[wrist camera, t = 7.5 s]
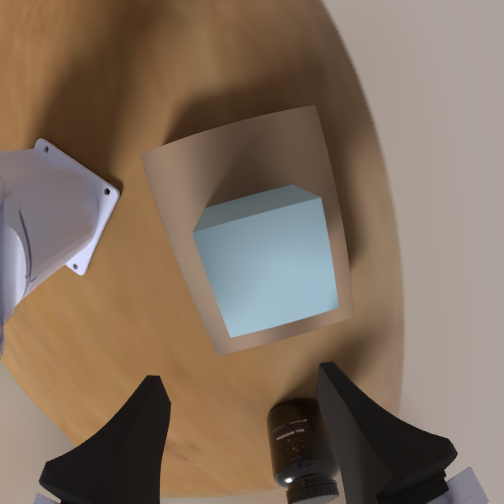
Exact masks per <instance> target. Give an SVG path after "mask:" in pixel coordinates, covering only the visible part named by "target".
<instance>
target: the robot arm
mask: <svg viewBox="0 0 504 504" xmlns="http://www.w3.org/2000/svg"><path fill="white" fill-rule="evenodd" d="M47 147H48V148H49V150H48V152H47ZM107 188H108V189H109V190H110V194H107V193H106V189H107ZM119 197H120V192H119V190H118V189H117V188H115V187H114V186H112V185H111V184H109V183H108V182H106V181H105V180H103V179H102V178H100V177H99V176H97V175H96V174H94V173H93V172H92V171H90V170H89V169H87V168H86V167H84V166H83V165H81V164H80V163H78V162H77V161H75V160H74V159H72V158H71V157H70V156H68V155H67V154H65V153H64V152H62V151H61V150H59V149H58V148H57V147H55V146H54V145H52V144H51V143H49V142H48V141H47V140H45V139H43V138H40V139H38V140H37V142H36V144H35V147H34V149H23V150H11V151H1V152H0V359H1V356H2V354H3V350H4V344H5V336H4V329H3V325H4V324H5V323H6V322H7V321H8V320H9V319H10V318H11V317H12V316H13V315H14V308H15V306H16V305H17V304H18V303H19V302H20V301H21V300H22V299H23V298H24V297H26V296H27V295H28V294H29V293H30V292H31V291H32V290H34V289H35V288H36V287H37V286H38V285H40V284H41V283H42V282H43V281H44V280H46V279H47V278H48V277H49V276H50V275H52V274H53V273H54V272H55V271H57V270H58V269H59V268H60V267H62V266H63V265H64V264H65V265H67V266H68V267H69V268H71V269H72V270H73V271H75V272H76V273H77V274H79V275H84V274H85V273H86V271H87V268H88V266H89V263H90V261H91V258H92V256H93V253H94V251H95V248H96V246H97V244H98V242H99V239H100V237H101V235H102V232H103V230H104V228H105V226H106V224H107V222H108V220H109V217H110V215H111V213H112V211H113V209H114V207H115V205H116V203H117V201H118V199H119ZM75 264H77V266H78V268H77V267H76V266H75ZM316 394H317V398H318V402H319V407H320V411H321V414H322V416H323V419H324V422H325V424H326V427H327V430H328V432H329V435H330V438H331V440H332V443H333V445H334V448H335V451H336V455H337V459H338V463H339V467H340V472H341V476H342V481H343V486H344V492H345V498H346V503H347V504H487V503H488V502H489V500H488V498H487V496H486V494H485V492H484V490H483V488H482V486H481V484H480V483H479V481H478V479H477V477H476V475H475V474H474V472H473V470H472V468H471V467H468V468H467V469H466V470H464V471H462V472H461V473H459V474H457V475H456V476H454V477H453V478H451V479H450V480H448V481H447V482H445V480H444V478H445V477H446V473H445V471H444V470H445V469H446V468H447V467H448V466H449V465H450V463H452V462H453V461H454V459H455V458H456V456H457V454H458V453H457V451H456V449H455V448H454V446H453V444H452V443H451V441H450V440H449V439H448V438H444V437H441V436H438V435H434V434H431V433H428V432H426V431H423V430H420V429H418V428H416V427H414V426H412V425H410V424H407V423H406V422H404V421H402V420H400V419H399V418H397V417H395V416H394V415H392V414H391V413H389V412H388V411H386V410H385V409H383V408H382V407H380V406H379V405H378V404H377V403H375V402H374V401H373V400H372V399H370V398H369V397H368V396H367V395H366V394H365V393H363V392H362V391H361V390H360V389H359V388H358V387H357V386H356V385H355V384H354V383H353V382H352V381H351V380H350V379H349V378H348V377H347V376H346V375H345V374H344V373H343V372H342V371H341V370H340V368H339V367H338V366H337V365H336V364H335V363H334V362H333V361H332V362H327V363H321V364H320V365H319V374H318V383H317V391H316ZM170 410H171V402H170V400H169V398H168V395H167V393H166V390H165V388H164V386H163V383H162V381H161V378H160V376H151V375H147V376H146V378H145V379H144V380H143V381H142V383H141V384H140V385H139V387H138V388H137V389H136V390H135V392H134V393H133V394H132V396H131V397H130V398H129V399H128V400H127V402H126V403H125V404H124V405H123V406H122V408H121V409H120V410H119V411H118V412H117V413H116V414H115V415H114V416H113V418H112V419H111V420H110V421H109V422H108V423H107V424H106V425H105V426H104V427H102V428H101V429H100V430H99V431H98V432H97V433H96V434H94V435H93V436H92V437H90V438H89V439H88V440H86V441H85V442H84V443H82V444H81V445H79V446H78V447H76V448H74V449H73V450H71V451H69V452H67V453H66V454H64V455H62V456H59V457H57V458H55V459H53V460H50V461H48V462H46V464H45V467H44V469H43V471H42V474H41V477H40V479H39V483H40V485H41V486H43V487H44V488H45V489H46V490H48V491H49V492H50V493H52V494H53V495H55V496H56V497H57V498H59V499H60V500H61V503H60V504H160V470H161V461H162V456H163V451H164V446H165V441H166V437H167V432H168V427H169V422H170ZM33 504H59V503H57V502H55V501H53V500H51V499H49V498H47V497H45V496H43V495H41V494H39V493H37V494H36V497H35V500H34V503H33Z"/></svg>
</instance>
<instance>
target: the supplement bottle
mask: <svg viewBox="0 0 504 504" xmlns="http://www.w3.org/2000/svg"><path fill="white" fill-rule="evenodd" d="M267 430H268V438H269V446H270V454H271V462H272V470H273V477H274V480H275V482H276V483H277V484H278V485H279V486H281V487H283V488H286V489H288V490H287V491H286V497H287V500H288V504H326V503H329V502H331V501H334V500H335V499H337V498H338V497H339V492H338V488H337V482H336V480H333V478H334V477H335V476H336V475H337V474H338V473H339V471H340V467H339V463H338V459H337V455H336V451H335V448H334V445H333V443H332V440H331V438H330V435H329V432H328V430H327V427H326V424H325V422H324V419H323V416H322V414H321V411H320V407H319V403H318V402H317V401H314V400H309V399H297V400H292V401H288V402H285V403H283V404H281V405H279V406H277V407H276V408H274V409H273V410H272V411H271V412H270V414H269V415H268V418H267Z"/></svg>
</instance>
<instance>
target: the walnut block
mask: <svg viewBox="0 0 504 504" xmlns="http://www.w3.org/2000/svg"><path fill="white" fill-rule="evenodd" d="M140 155H141V159H142V162H143V165H144V169H145V172H146V175H147V178H148V181H149V184H150V187H151V190H152V194H153V197H154V199H155V202H156V205H157V208H158V211H159V214H160V217H161V220H162V223H163V225H164V228H165V231H166V234H167V236H168V239H169V242H170V244H171V247H172V250H173V252H174V255H175V257H176V260H177V263H178V265H179V268H180V270H181V273H182V275H183V278H184V280H185V282H186V285H187V287H188V290H189V292H190V295H191V297H192V299H193V302H194V304H195V306H196V309H197V311H198V313H199V315H200V318H201V320H202V322H203V324H204V327H205V329H206V331H207V333H208V335H209V338H210V340H211V342H212V344H213V346H214V348H215V350H216V352H217V355H223V354H227V353H231V352H236V351H240V350H244V349H248V348H252V347H256V346H260V345H264V344H267V343H271V342H275V341H278V340H282V339H285V338H289V337H292V336H296V335H299V334H303V333H306V332H309V331H312V330H315V329H319V328H322V327H325V326H328V325H331V324H334V323H337V322H340V321H343V320H346V319H348V318H351V317H354V316H355V314H354V303H353V293H352V284H351V276H350V268H349V260H348V253H347V246H346V240H345V234H344V228H343V222H342V216H341V211H340V205H339V200H338V195H337V190H336V185H335V181H334V176H333V171H332V167H331V163H330V158H329V154H328V150H327V146H326V142H325V138H324V134H323V130H322V127H321V123H320V119H319V116H318V112H317V109H316V106H315V105H311V106H305V107H299V108H294V109H289V110H284V111H279V112H275V113H270V114H266V115H261V116H257V117H253V118H249V119H245V120H241V121H238V122H234V123H230V124H227V125H223V126H220V127H216V128H213V129H210V130H207V131H203V132H200V133H197V134H194V135H191V136H188V137H185V138H182V139H179V140H177V141H174V142H171V143H168V144H166V145H163V146H160V147H158V148H155V149H153V150H150V151H148V152H145V153H143V154H140ZM292 184H293V185H295V186H298V187H300V188H302V189H304V190H306V191H308V192H310V193H313V194H315V195H317V196H319V197H321V200H322V205H323V210H324V215H325V221H326V226H327V232H328V237H329V243H330V249H331V255H332V262H333V268H334V275H335V282H336V290H337V297H338V305H339V308H336V309H333V310H330V311H327V312H323V313H320V314H317V315H314V316H310V317H307V318H304V319H300V320H297V321H293V322H290V323H286V324H283V325H279V326H275V327H272V328H268V329H264V330H260V331H256V332H253V333H249V334H245V335H240V336H236V337H232V338H230V335H229V333H228V330H227V328H226V325H225V322H224V320H223V317H222V315H221V312H220V309H219V307H218V304H217V302H216V299H215V296H214V294H213V291H212V288H211V286H210V283H209V280H208V277H207V275H206V272H205V269H204V266H203V263H202V261H201V258H200V255H199V252H198V249H197V246H196V243H195V240H194V238H193V235H192V232H193V230H194V228H195V226H196V224H197V222H198V220H199V218H200V216H201V214H202V212H203V211H204V209H205V208H207V207H211V206H214V205H218V204H221V203H224V202H228V201H231V200H235V199H239V198H242V197H246V196H249V195H253V194H257V193H261V192H264V191H268V190H272V189H276V188H280V187H284V186H288V185H292Z"/></svg>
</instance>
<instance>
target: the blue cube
mask: <svg viewBox="0 0 504 504" xmlns="http://www.w3.org/2000/svg"><path fill="white" fill-rule="evenodd" d="M192 235H193V238H194V240H195V243H196V246H197V249H198V252H199V255H200V258H201V261H202V263H203V266H204V269H205V272H206V275H207V277H208V280H209V283H210V286H211V288H212V291H213V294H214V296H215V299H216V302H217V304H218V307H219V309H220V312H221V315H222V317H223V320H224V322H225V325H226V328H227V330H228V333H229V335H230V338H232V337H236V336H240V335H245V334H249V333H253V332H256V331H260V330H264V329H268V328H272V327H275V326H279V325H283V324H286V323H290V322H293V321H297V320H300V319H304V318H307V317H310V316H314V315H317V314H320V313H323V312H327V311H330V310H333V309H336V308H339V305H338V297H337V290H336V282H335V275H334V268H333V262H332V255H331V249H330V243H329V237H328V232H327V226H326V221H325V215H324V210H323V205H322V200H321V197H319V196H317V195H315V194H313V193H310V192H308V191H306V190H304V189H302V188H300V187H298V186H295V185H293V184H292V185H288V186H284V187H280V188H276V189H272V190H268V191H264V192H261V193H257V194H253V195H249V196H246V197H242V198H239V199H235V200H231V201H228V202H224V203H221V204H218V205H214V206H211V207H207V208H205V209H204V211H203V212H202V214H201V216H200V218H199V220H198V222H197V224H196V226H195V228H194V230H193V232H192Z"/></svg>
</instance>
